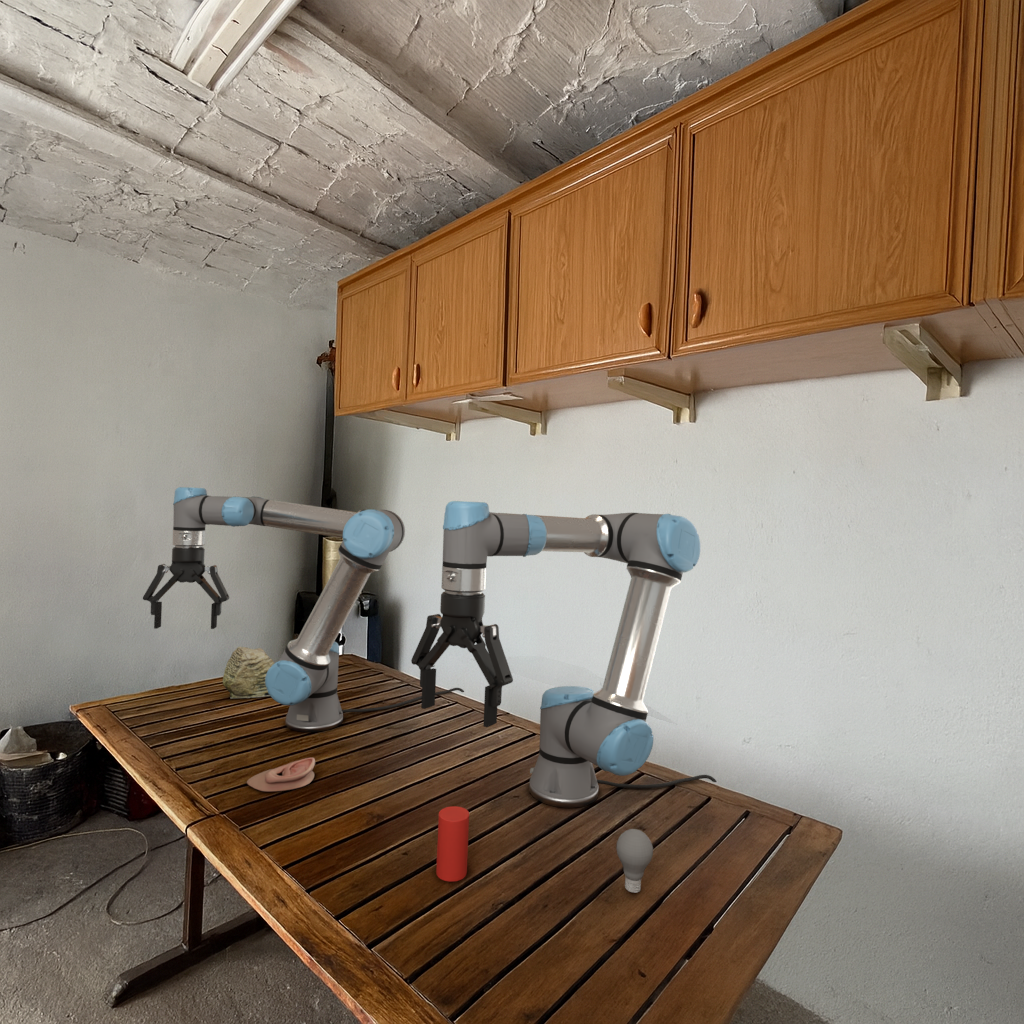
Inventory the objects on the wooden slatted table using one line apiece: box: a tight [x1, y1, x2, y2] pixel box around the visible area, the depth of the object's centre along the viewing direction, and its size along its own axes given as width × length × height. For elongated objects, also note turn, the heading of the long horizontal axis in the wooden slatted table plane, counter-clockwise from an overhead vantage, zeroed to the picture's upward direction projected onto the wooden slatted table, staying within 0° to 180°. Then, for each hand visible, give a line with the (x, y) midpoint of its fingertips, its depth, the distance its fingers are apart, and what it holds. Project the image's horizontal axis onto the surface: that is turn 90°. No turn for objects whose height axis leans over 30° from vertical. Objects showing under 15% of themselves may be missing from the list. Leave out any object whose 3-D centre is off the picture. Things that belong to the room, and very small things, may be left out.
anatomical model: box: [246, 757, 316, 792], centre depth 140 cm, size 13×4×12 cm
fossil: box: [222, 646, 275, 699], centre depth 198 cm, size 9×18×15 cm, turn 132°
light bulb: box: [615, 828, 654, 894], centre depth 106 cm, size 6×6×10 cm
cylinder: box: [435, 805, 470, 883], centre depth 109 cm, size 5×5×10 cm
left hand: (185, 627), depth 165 cm, fingers open, 13 cm apart
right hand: (457, 715), depth 108 cm, fingers open, 13 cm apart
